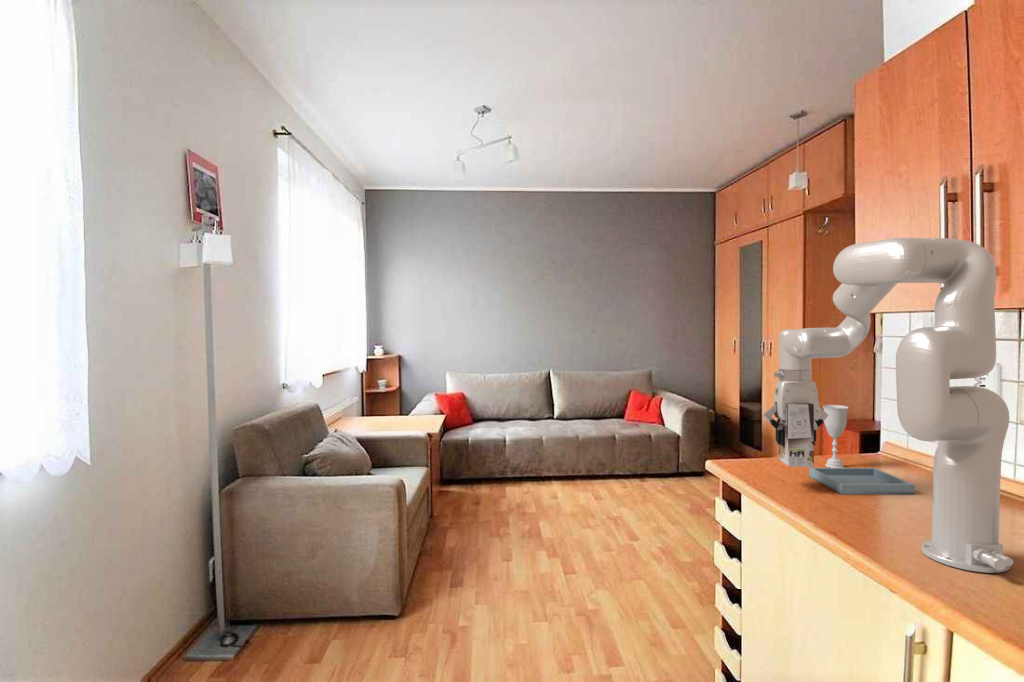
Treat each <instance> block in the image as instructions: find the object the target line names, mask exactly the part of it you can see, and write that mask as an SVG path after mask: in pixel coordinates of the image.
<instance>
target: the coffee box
mask: <svg viewBox="0 0 1024 682" xmlns="http://www.w3.org/2000/svg"><path fill="white" fill-rule="evenodd" d="M786 408H787V420H786V421H785V425H784V427H783V430H784V431H785V445H784V446H781V445H779V444H778V459H779V461H781V462H782V463H783V464H785V465H786V466H788V467H791V468H792V467H793V468H794V467H795V468H796V467H799V468H815V462H814V461H815V458H814V457H815V454H814V453H815V445H814V404H812V403H794V404H786Z"/></svg>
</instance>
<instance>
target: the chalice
mask: <svg viewBox="0 0 1024 682" xmlns="http://www.w3.org/2000/svg"><path fill="white" fill-rule="evenodd" d="M849 408H850V407H848V406H847V405H841V404H840V405H838V404H823V405H822V409H823V411H825V412H826V413H827V414H828V417H827V418H826V419H825V420H824V421H823V423H824V426H825V429H826V431H827V433H828V435H829V437H831V438H832V439H833V441H832V443H831V445H832V449H831V451H832V457H829V458H828V459H827V461H826V464H824V465H825V467H826V466H827V467H826V468H829V467H830V468H845V466H844V463H843V461H842V460H841V458H839V457H838V455H837V453H838V451H839V450H838V445H839V444H838V441H837V440H838V438H841V436H842V434H843V433H844V431H845V429H846V426H847V424H848V421H847V419H848V418H847V416H848V413H847V412H848V410H849Z"/></svg>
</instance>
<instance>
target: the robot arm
mask: <svg viewBox="0 0 1024 682" xmlns="http://www.w3.org/2000/svg"><path fill="white" fill-rule="evenodd" d="M832 271H833V275H834V277H835V279H836V280H837V281H838V282H839V283H841V284H840V285H839V286H838V287H837V288H836V290H835V291H833V293H832V294H833V295H832V301H833V304H834V306H835V307H836V308H837V310H839V311H840V312H841V313H842V314H844V315H845V318H844V319H843V321H842V322H841V323H840V324H839V325H837V327H805V328H795V329H794V328H790V329H783V330H781V331H780V332H779V337H778V345H779V346H778V349H779V350H778V356H779V358H778V363H779V364H778V366H779V369H778V371H776V372H775V371H774V374H773V375H774V378H778V381H776V386H775V390H774V397H773V406H771V407H770V408H768V410H767V411H765V412H764V413H763V418H765V420H766V421H768V423H769V424H770V425H771V426H772V427H773V428H774V429H775V442H776V444H777V445H778V446H779V445H781V446H784V445H785V431H784V430H783V427H784V425H785V421H786V420H787V408H786V404H794V403H812V404H814V446H816V441H817V430H818V429H819V427H820V426H821V425H822V424H823V423H824V420H825V419H826V418H827V417H828V414H827V413H826V412H825V411H824V409H823V408H821V407H820V401H819V400H820V399H819V393H818V388H817V385H816V382H815V381H813V379H812V375H813V373H812V372H813V371H812V367H813V366H812V364H813V363H812V359H822V358H823V359H830V358H831V359H833V358H834V359H835V358H839V359H840V358H843V357H845V356H848V355H849V354H850V353H851V354H852V352H853V351H855V350H856V349H857V348H858V347H859V346H860V344H862V343H863V341H864V340H865V339H866V338H867V336H868V335H869V331H870V328H871V323H872V322H871V321H872V318H871V313H872V312H873V310H874V309H875V308H876V306H878V305H879V303H880V302H882V300H883V299H884V298H885V297H886V296H887V295H888V294H889V293H890V292H891V291H892V290H893V289H894V288H895V287H896V285H897V284H908V283H910V284H928V283H929V284H931V283H932V284H933V283H934V284H942V285H943V287H942V288H941V289H940V290H939V292H938V294H937V297H936V300H935V303H934V326H924V327H919V328H916V329H913V330H911V331H909V332H908V333H906V335H905V336H904V337H902V339H901V341H900V342H899V344H898V347H897V350H896V353H895V379H896V380H895V381H896V382H895V383H896V386H895V387H896V409H897V416H898V420H899V422H900V425H901V427H902V428H903V430H904V431H905V432H906V433H907V434H908V435H909V436H911V437H912V438H914V439H916V440H919V441H922V442H923V441H924V442H938V444H937V445H936V446H937V447H936V449H935V451H934V456H933V457H934V458H933V466H932V469H933V470H932V501H931V502H932V503H931V504H932V509H931V510H932V512H931V515H932V517H931V539H927V540H924V541H923V542H921V544H920V545H921V548H920V549H921V551H922V553H923V554H924V555H925V556H926V557H928V558H930V559H932V560H933V561H936V562H938V563H941V564H943V565H946V566H949V567H952V568H957V569H960V570H965V571H970V572H975V573H977V572H978V573H984V574H985V573H986V574H987V573H988V574H993V573H994V574H997V573H998V574H999V573H1003V572H1007V571H1008V570H1010V568H1011V566H1012V565H1014V560H1013V559H1012V558H1011V557H1010V556H1007V555H1004V554H1003V553H1004V545H1003V544H1002V543H1000V516H1001V515H1000V512H1001V511H1000V510H1001V509H1000V508H1001V507H1000V506H1001V478H1002V475H1001V474H1002V457H1003V450H1004V443H1005V439H1006V436H1007V434H1008V428H1009V424H1010V411H1009V406H1008V405H1007V403H1006V401H1005V400H1004V399H1003V398H1002V396H1000V394H997V393H996V392H994V391H993V390H990V389H988V388H984V387H982V386H972V385H962V386H960V385H958V386H955V385H954V386H951V385H950V383H951V382H950V380H964V379H967V380H968V379H975V378H981V377H983V376H986V375H988V374H990V373H992V371H993V369H994V368H995V365H996V362H997V361H996V360H997V337H996V336H997V335H996V330H997V329H996V312H995V294H996V293H995V291H996V283H997V282H996V280H997V267H996V263H995V259H994V258H993V256H992V254H991V253H990V252H989V251H988V249H986V248H985V247H984V246H982V245H980V244H978V243H975V242H974V241H970V240H966V239H965V240H964V239H957V238H945V237H943V238H942V237H941V238H940V237H895V238H888V239H882V240H876V241H869V242H868V241H867V242H863V243H853V244H850V245H849V246H847V247H845V248H843V249H842V250H841V251H839V252H838V255H837V256H836V257H835V259H834V262H833V266H832ZM773 416H774V417H773ZM774 418H776V420H775V419H774Z"/></svg>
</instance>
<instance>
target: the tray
mask: <svg viewBox="0 0 1024 682" xmlns="http://www.w3.org/2000/svg"><path fill="white" fill-rule="evenodd" d="M808 469H809V473H808V474H809V475H808V477H809V478H810V479H813V480H814V481H816V482H818V483H820V484H822V485H823V484H824V486H825V485H826V486H825V487H827V488H829V489H831V490H833V491H834V490H835V491H834V492H836V491H837V492H836V493H838V494H840V495H915V487H916V485H915V484H914V483H912V482H910V481H907V480H904V479H902V478H900V477H897V476H895V475H893V474H890V473H888V472H886V471H883V470H881V469H879V468H876V467H844V468H829V467H808Z"/></svg>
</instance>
